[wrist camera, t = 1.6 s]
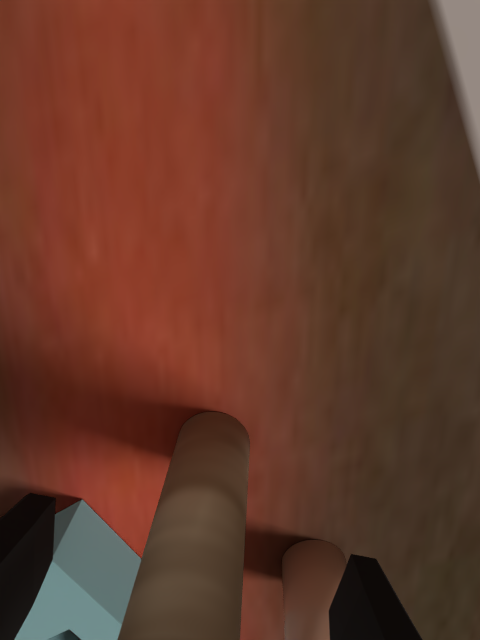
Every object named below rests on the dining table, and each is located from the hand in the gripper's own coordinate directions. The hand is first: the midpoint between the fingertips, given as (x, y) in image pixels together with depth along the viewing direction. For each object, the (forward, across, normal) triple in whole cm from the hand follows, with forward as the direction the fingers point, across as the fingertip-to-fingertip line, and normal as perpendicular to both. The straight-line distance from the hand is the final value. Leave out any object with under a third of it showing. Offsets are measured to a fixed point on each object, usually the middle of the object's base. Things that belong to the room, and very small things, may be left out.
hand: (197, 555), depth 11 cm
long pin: (+4, 0, 0) cm, 4 cm away
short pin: (+4, -4, +5) cm, 8 cm away
